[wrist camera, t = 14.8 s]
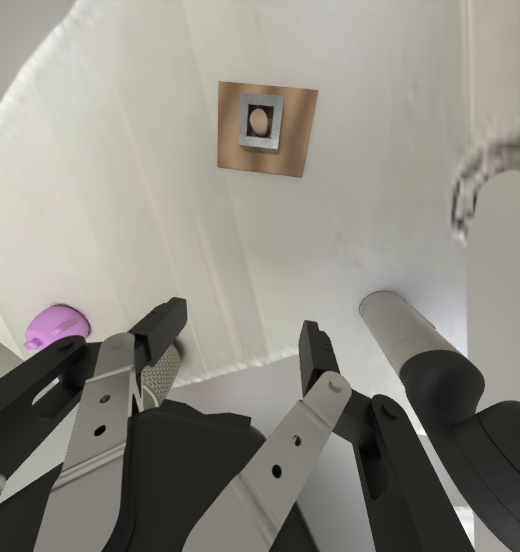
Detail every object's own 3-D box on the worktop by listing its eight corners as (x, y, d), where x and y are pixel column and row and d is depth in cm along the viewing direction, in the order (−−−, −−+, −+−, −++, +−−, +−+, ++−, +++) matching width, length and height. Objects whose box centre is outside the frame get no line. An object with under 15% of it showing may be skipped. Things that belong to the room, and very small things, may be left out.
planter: (201, 351, 57) (172, 404, 43) (171, 373, 64) (137, 425, 49) (157, 315, 54) (109, 361, 39) (129, 342, 60) (80, 389, 45)
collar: (284, 110, 30) (284, 96, 26) (278, 155, 33) (277, 148, 28) (247, 107, 30) (240, 92, 26) (244, 151, 33) (238, 144, 29)
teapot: (37, 315, 60) (-10, 338, 51) (71, 294, 55) (26, 316, 45) (69, 345, 65) (32, 371, 55) (105, 328, 59) (70, 355, 49)
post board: (317, 93, 29) (325, 66, 23) (301, 177, 34) (304, 173, 28) (220, 84, 30) (203, 56, 24) (219, 167, 36) (204, 161, 29)
